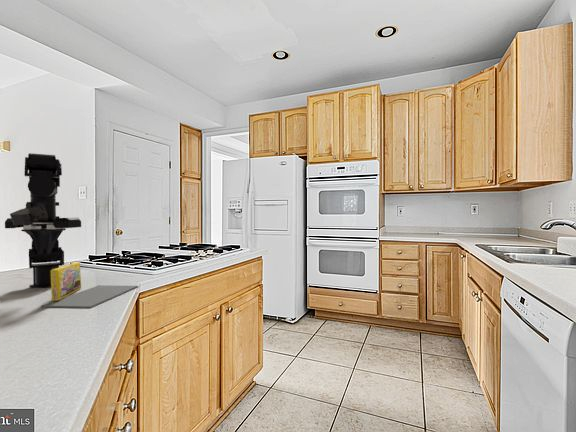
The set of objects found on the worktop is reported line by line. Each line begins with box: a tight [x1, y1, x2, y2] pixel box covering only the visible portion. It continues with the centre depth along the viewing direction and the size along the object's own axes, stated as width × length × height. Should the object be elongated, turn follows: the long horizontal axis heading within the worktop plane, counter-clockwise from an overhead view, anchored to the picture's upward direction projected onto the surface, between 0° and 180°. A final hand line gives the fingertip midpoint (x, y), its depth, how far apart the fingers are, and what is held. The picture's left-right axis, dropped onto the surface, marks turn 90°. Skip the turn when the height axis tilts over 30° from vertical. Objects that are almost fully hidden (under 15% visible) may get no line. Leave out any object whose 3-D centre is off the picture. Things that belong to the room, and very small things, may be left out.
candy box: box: [50, 262, 82, 302], centre depth 93 cm, size 16×2×8 cm, turn 15°
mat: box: [40, 284, 139, 309], centre depth 92 cm, size 13×22×1 cm, turn 176°
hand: (44, 253), depth 93 cm, fingers closed
